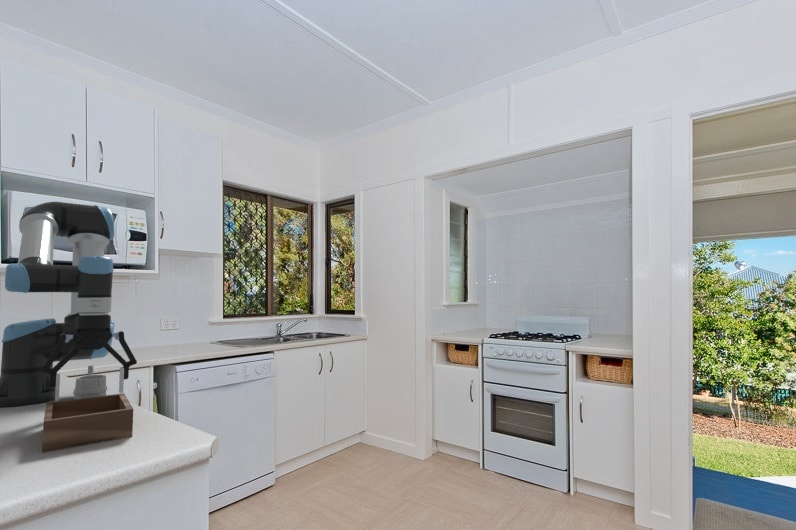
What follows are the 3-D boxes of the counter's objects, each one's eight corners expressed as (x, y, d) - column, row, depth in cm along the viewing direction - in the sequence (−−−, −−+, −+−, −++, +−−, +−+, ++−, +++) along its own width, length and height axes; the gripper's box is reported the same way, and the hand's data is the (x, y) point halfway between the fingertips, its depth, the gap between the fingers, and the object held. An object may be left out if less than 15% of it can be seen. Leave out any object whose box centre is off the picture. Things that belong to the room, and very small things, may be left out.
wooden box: (44, 428, 99) (46, 402, 100) (123, 417, 109) (124, 393, 109) (41, 452, 85) (43, 421, 85) (132, 436, 94) (133, 408, 95)
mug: (70, 422, 105) (73, 372, 105) (70, 411, 114) (72, 365, 115) (108, 416, 109) (110, 369, 110) (105, 406, 119) (107, 363, 119)
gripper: (31, 316, 103) (26, 406, 101) (149, 313, 118) (147, 391, 116) (33, 315, 108) (28, 400, 107) (145, 312, 124) (143, 387, 122)
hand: (90, 395), depth 112 cm, fingers open, 13 cm apart
